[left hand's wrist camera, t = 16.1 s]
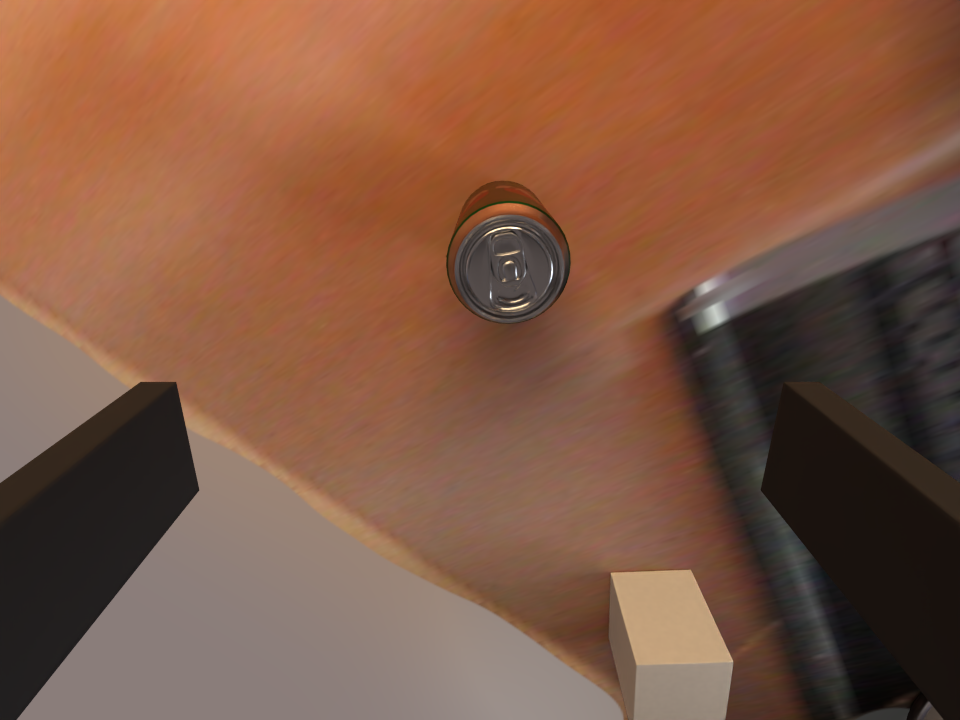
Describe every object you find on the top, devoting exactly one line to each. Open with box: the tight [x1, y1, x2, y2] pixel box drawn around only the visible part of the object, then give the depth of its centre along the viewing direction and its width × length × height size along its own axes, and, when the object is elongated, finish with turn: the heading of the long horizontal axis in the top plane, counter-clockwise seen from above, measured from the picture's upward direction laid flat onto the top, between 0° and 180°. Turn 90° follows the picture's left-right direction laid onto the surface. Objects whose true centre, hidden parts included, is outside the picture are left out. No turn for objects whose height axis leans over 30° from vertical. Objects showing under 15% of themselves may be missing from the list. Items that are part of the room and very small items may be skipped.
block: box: [609, 570, 733, 720], centre depth 40 cm, size 6×7×8 cm
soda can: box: [446, 181, 571, 324], centre depth 28 cm, size 5×5×12 cm
